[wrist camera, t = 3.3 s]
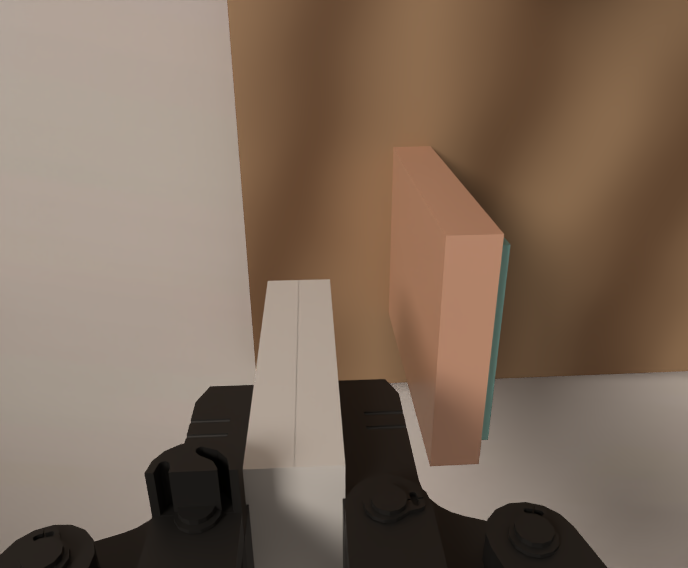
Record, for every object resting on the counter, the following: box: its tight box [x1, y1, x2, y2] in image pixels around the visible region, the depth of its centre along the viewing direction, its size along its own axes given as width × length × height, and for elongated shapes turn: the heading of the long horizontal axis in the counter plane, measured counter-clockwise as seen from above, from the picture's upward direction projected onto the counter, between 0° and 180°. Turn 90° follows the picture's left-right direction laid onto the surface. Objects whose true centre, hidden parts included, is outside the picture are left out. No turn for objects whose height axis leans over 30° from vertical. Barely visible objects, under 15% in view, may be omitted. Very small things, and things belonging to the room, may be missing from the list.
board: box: [227, 0, 688, 383], centre depth 19 cm, size 17×26×2 cm, turn 0°
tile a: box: [389, 146, 510, 466], centre depth 18 cm, size 2×6×8 cm, turn 0°
